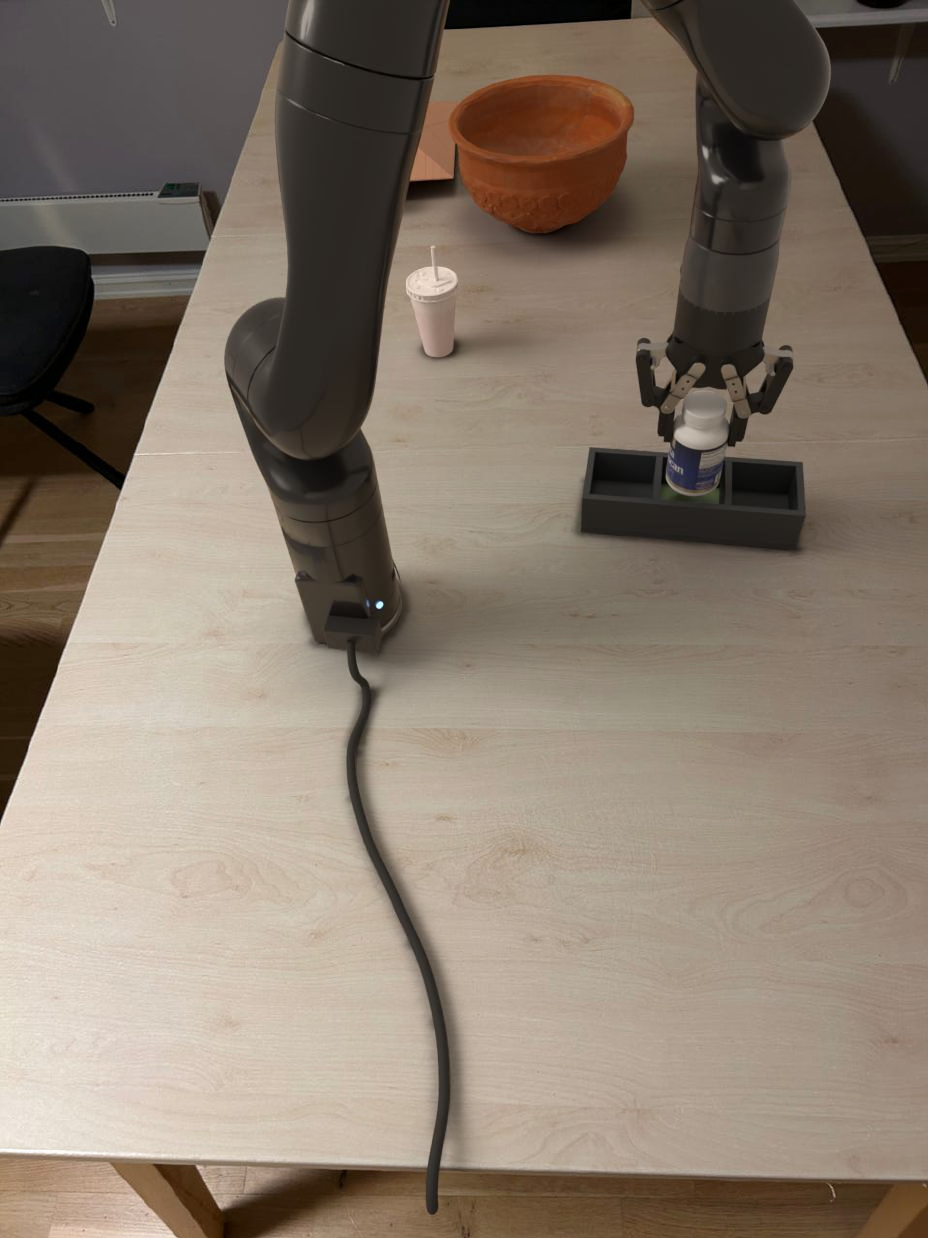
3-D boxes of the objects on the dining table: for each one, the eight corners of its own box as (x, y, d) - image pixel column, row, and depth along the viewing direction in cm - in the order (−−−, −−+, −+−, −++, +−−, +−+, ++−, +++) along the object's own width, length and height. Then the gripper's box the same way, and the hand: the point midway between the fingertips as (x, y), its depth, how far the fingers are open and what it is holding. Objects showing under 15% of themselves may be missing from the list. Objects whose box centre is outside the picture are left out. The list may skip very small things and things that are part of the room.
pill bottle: (654, 472, 96) (664, 396, 88) (699, 454, 97) (712, 377, 89) (684, 505, 93) (696, 429, 85) (729, 486, 94) (746, 410, 86)
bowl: (658, 236, 132) (669, 127, 120) (495, 283, 127) (490, 174, 115) (580, 162, 146) (583, 58, 135) (432, 201, 142) (422, 98, 130)
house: (459, 113, 159) (455, 61, 153) (454, 214, 139) (450, 159, 133) (327, 121, 161) (318, 70, 155) (302, 222, 141) (291, 168, 134)
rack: (795, 550, 94) (806, 515, 90) (580, 532, 98) (582, 498, 94) (792, 496, 99) (802, 461, 95) (587, 481, 103) (589, 446, 99)
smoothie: (458, 365, 117) (449, 263, 106) (408, 362, 118) (394, 260, 107) (468, 334, 120) (460, 233, 110) (420, 331, 122) (408, 230, 111)
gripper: (635, 304, 76) (621, 460, 89) (819, 312, 74) (776, 471, 87) (640, 254, 80) (627, 409, 94) (814, 260, 78) (775, 418, 91)
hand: (699, 438), depth 90 cm, fingers closed on pill bottle, 5 cm apart
